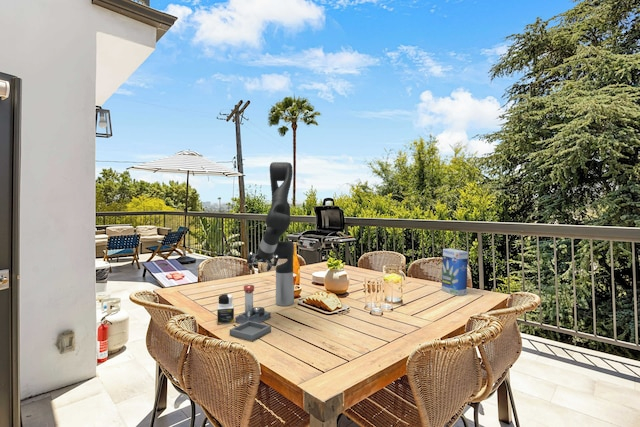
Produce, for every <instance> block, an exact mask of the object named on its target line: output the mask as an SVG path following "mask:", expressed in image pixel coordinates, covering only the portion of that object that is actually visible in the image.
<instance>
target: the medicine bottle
mask: <svg viewBox="0 0 640 427" xmlns="http://www.w3.org/2000/svg"><path fill="white" fill-rule="evenodd" d="M234 307H235V306H234V303H233V295H232V294H229V293H223V294H220V295H219V296H218V304H217V309H216V310H217V314H216V316H217V325H223V324H224V325H225V324H234V322H235V308H234Z"/></svg>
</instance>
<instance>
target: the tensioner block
mask: <svg viewBox="0 0 640 427" xmlns="http://www.w3.org/2000/svg"><path fill="white" fill-rule="evenodd" d="M265 310H266V309H265V308H264V307H262V306H253V315H252V316H250V317H248V316H245V312H243V313H240V314H239V315H237V316H234V322H235V323H236V324H239V325H241V324H243V323H245V322H247V321H253V322H257V323H261V324H262V323H263V322H265V321H267V320H269V319H271V317H272V313H271V312H272V311H271V312H270V311H265Z"/></svg>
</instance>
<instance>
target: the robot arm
mask: <svg viewBox="0 0 640 427" xmlns="http://www.w3.org/2000/svg"><path fill="white" fill-rule="evenodd" d="M293 174H294V173H293V165H292V163H291V162H287V161H284V162H283V161H281V162H279V161H274V162H273V161H272V162H271V163H270V164H269V180H270V190H271V206H270V209H269V212H268V213H267V215H266V217H265V225H266V226H267V227H266V229H265V232H264V234H263V237H262V238H261V241H260V243H259V246H258V249H257V251H256V252H255V253H254V252H253V251H249V253H248V256H247V258H246V264H248V269H249V270H252V269H253V267H254V264H258V263H265V264H267V266H266V272H269V271H271V269H272V267H275V304H276V305H277V306H280V307H286V306H287V307H288V306H292V305H293V304H294V303H295V284H294V254H295V253H294V251H295V250H294V249H295V247H294V243H293V242H292V241H280V239H281V236H282V235H284V233H285V232H286V231H287V229H288V228H289V227H290V225H291V206H290V203H289V201H288V198H289V194H290V193H289V192H290V188H291V184H292V179H293ZM278 182H282V183H281V184H280V185H279V184H278ZM272 260H273V261H272ZM279 260H286V261H284V263H281V264H279V265H278V262H279Z"/></svg>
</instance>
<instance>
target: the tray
mask: <svg viewBox="0 0 640 427" xmlns="http://www.w3.org/2000/svg"><path fill="white" fill-rule="evenodd" d="M271 332H272V326H271V325H269V324H265V323H262V322H261V323H257V322H253V321H247V322H245V323H243V324H239V325H237V326H234V327H232V328H230V329H229V336H230V337H233V338H237V339H241V340H244V341H249V342H251V343H252V342H254V341H257V340H258V339H260V338H262V337H264V336H266V335H267V334H269V333H271Z"/></svg>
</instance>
